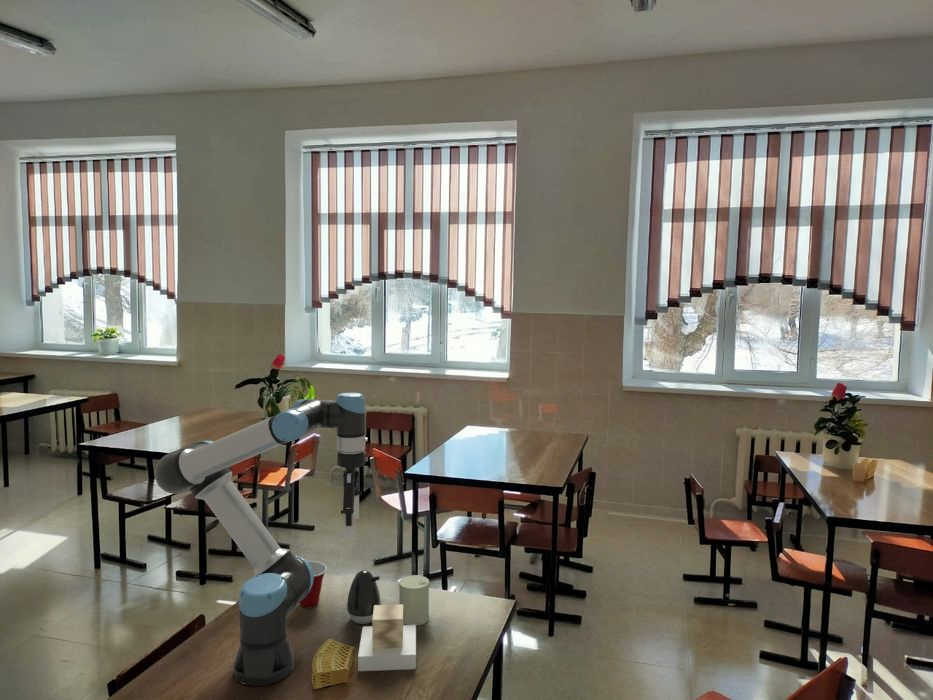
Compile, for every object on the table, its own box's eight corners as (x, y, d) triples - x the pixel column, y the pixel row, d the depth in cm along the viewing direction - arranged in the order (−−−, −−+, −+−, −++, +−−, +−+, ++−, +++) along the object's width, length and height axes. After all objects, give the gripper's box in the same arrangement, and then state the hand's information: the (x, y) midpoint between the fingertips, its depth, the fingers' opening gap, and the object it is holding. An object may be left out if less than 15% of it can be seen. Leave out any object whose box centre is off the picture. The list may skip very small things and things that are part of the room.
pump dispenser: (370, 631, 185) (370, 581, 184) (340, 624, 189) (339, 574, 188) (387, 615, 195) (387, 567, 193) (358, 608, 199) (358, 561, 197)
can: (424, 627, 188) (424, 588, 187) (394, 624, 190) (394, 585, 189) (432, 612, 197) (432, 575, 196) (404, 609, 199) (404, 572, 198)
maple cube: (372, 648, 169) (372, 619, 168) (374, 632, 177) (374, 605, 176) (402, 647, 170) (402, 618, 169) (403, 631, 178) (403, 604, 177)
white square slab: (358, 671, 166) (358, 656, 165) (362, 640, 181) (362, 626, 180) (415, 669, 167) (415, 654, 167) (415, 638, 182) (415, 624, 181)
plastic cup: (322, 612, 196) (322, 574, 195) (287, 611, 196) (287, 574, 195) (330, 595, 207) (330, 560, 206) (297, 595, 207) (297, 559, 206)
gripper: (361, 462, 159) (361, 545, 161) (368, 439, 184) (369, 511, 186) (331, 463, 158) (331, 545, 160) (342, 440, 183) (342, 511, 185)
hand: (351, 527), depth 173 cm, fingers open, 13 cm apart
